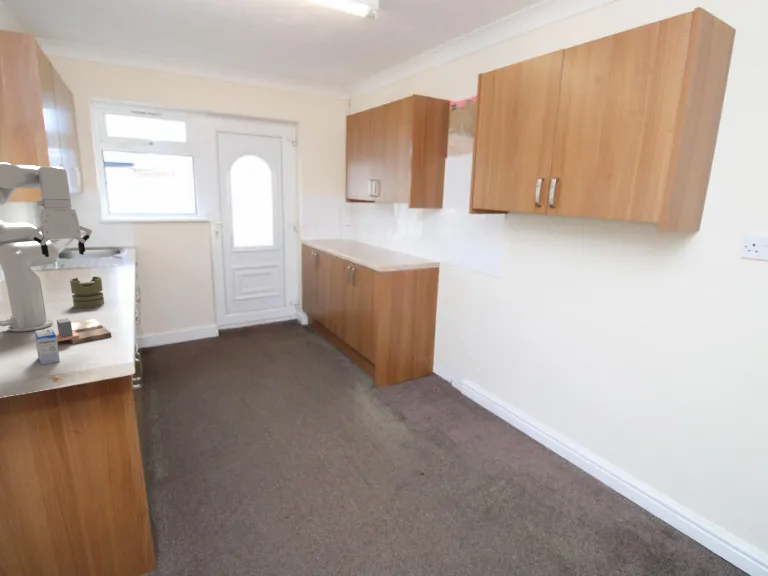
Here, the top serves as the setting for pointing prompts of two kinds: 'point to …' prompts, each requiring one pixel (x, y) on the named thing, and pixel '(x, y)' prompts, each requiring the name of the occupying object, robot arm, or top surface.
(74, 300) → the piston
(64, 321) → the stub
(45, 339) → the medicine box
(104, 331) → the board
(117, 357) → the top surface
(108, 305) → the top surface
